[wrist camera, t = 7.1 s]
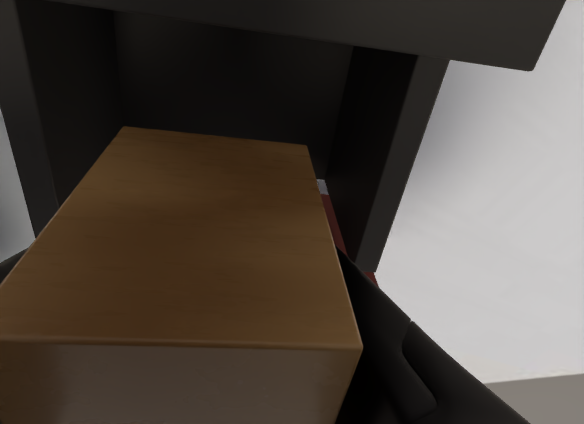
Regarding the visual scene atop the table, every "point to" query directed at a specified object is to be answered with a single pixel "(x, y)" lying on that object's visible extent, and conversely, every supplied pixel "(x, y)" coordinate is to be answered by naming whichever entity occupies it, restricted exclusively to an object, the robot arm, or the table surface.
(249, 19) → the drawer cabinet casing
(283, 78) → the red-fronted drawer
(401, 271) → the table surface
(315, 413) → the oak block
